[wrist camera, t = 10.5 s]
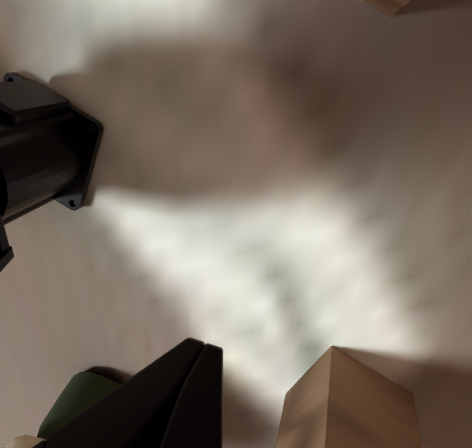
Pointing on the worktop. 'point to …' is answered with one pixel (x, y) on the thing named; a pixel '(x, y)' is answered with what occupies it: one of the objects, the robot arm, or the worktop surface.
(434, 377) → the worktop surface
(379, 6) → the numbered block
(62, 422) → the character mug
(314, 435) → the numbered block
